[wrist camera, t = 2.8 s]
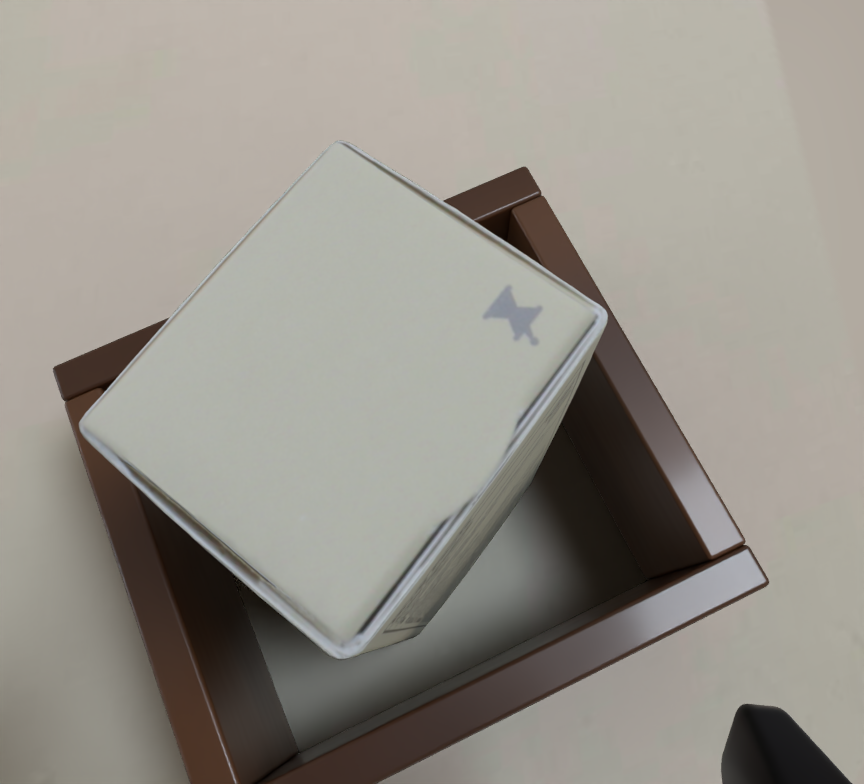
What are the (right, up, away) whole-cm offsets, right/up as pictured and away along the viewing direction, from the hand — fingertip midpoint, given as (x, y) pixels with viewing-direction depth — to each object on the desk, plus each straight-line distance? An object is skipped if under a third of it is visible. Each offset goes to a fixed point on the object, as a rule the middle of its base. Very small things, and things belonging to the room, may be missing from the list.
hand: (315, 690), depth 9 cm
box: (+1, 0, +11) cm, 11 cm away
